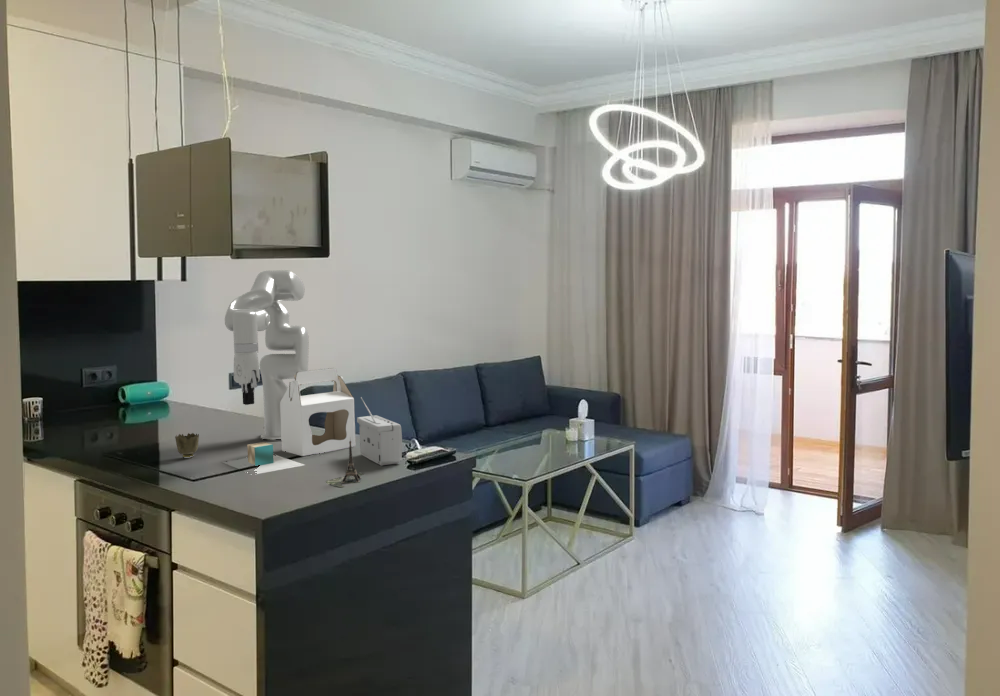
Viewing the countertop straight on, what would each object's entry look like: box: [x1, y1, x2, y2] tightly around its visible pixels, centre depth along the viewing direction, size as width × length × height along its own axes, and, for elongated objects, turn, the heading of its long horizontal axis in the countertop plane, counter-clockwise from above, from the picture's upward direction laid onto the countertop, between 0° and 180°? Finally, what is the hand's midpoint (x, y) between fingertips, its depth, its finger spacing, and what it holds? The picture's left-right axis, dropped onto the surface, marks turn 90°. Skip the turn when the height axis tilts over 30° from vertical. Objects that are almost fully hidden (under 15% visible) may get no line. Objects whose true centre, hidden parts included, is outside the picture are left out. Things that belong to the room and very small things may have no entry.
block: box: [246, 441, 274, 466], centre depth 257 cm, size 6×6×6 cm
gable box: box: [280, 367, 356, 457], centre depth 278 cm, size 22×13×28 cm, turn 137°
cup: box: [174, 432, 200, 457], centre depth 267 cm, size 8×7×8 cm
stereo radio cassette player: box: [356, 396, 403, 467], centre depth 261 cm, size 21×8×20 cm, turn 30°
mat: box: [246, 454, 305, 476], centre depth 257 cm, size 24×18×1 cm
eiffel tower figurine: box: [325, 441, 365, 488], centre depth 235 cm, size 15×10×13 cm
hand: (248, 404), depth 262 cm, fingers closed
